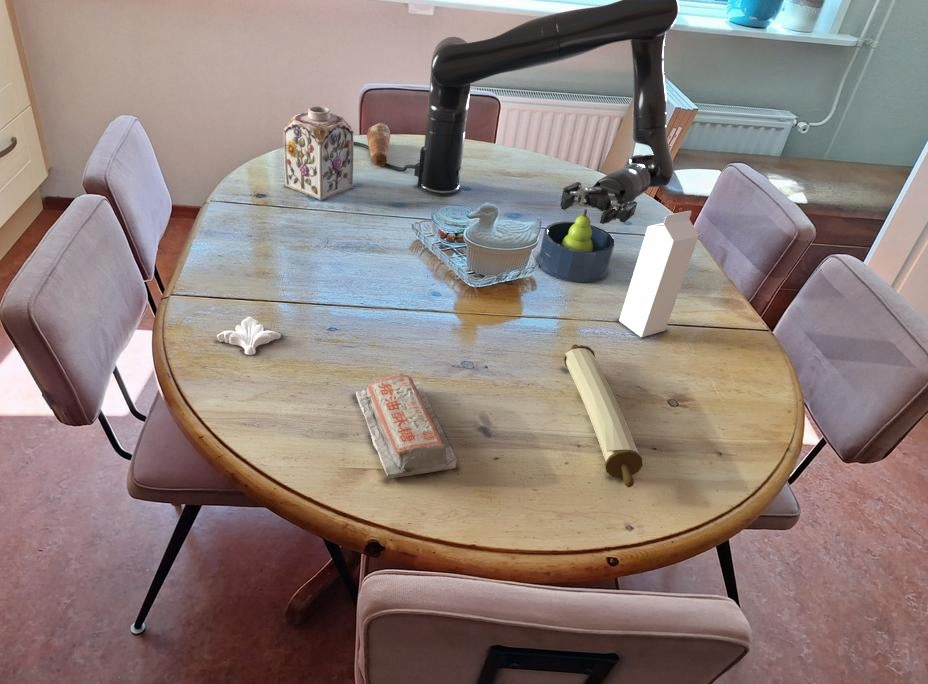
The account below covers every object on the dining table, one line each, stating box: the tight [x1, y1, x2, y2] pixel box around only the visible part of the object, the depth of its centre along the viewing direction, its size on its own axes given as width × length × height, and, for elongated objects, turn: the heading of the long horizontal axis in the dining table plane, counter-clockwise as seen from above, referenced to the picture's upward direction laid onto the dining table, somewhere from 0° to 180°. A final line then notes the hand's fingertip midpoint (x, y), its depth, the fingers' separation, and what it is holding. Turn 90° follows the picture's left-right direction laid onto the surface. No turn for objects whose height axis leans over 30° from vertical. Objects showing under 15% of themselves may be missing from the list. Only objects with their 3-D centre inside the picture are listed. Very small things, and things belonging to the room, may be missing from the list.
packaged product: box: [355, 372, 458, 480], centre depth 98 cm, size 18×5×10 cm
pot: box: [538, 220, 616, 283], centre depth 142 cm, size 14×14×6 cm
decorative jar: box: [283, 105, 355, 201], centre depth 160 cm, size 12×12×18 cm
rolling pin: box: [563, 344, 644, 488], centre depth 104 cm, size 32×6×5 cm, turn 3°
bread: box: [366, 122, 391, 167], centre depth 183 cm, size 6×19×6 cm, turn 1°
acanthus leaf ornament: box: [216, 316, 281, 356], centre depth 114 cm, size 8×7×2 cm
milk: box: [618, 210, 700, 338], centre depth 121 cm, size 6×6×22 cm
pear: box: [561, 208, 593, 252], centre depth 140 cm, size 6×6×12 cm
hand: (582, 211), depth 136 cm, fingers open, 8 cm apart
